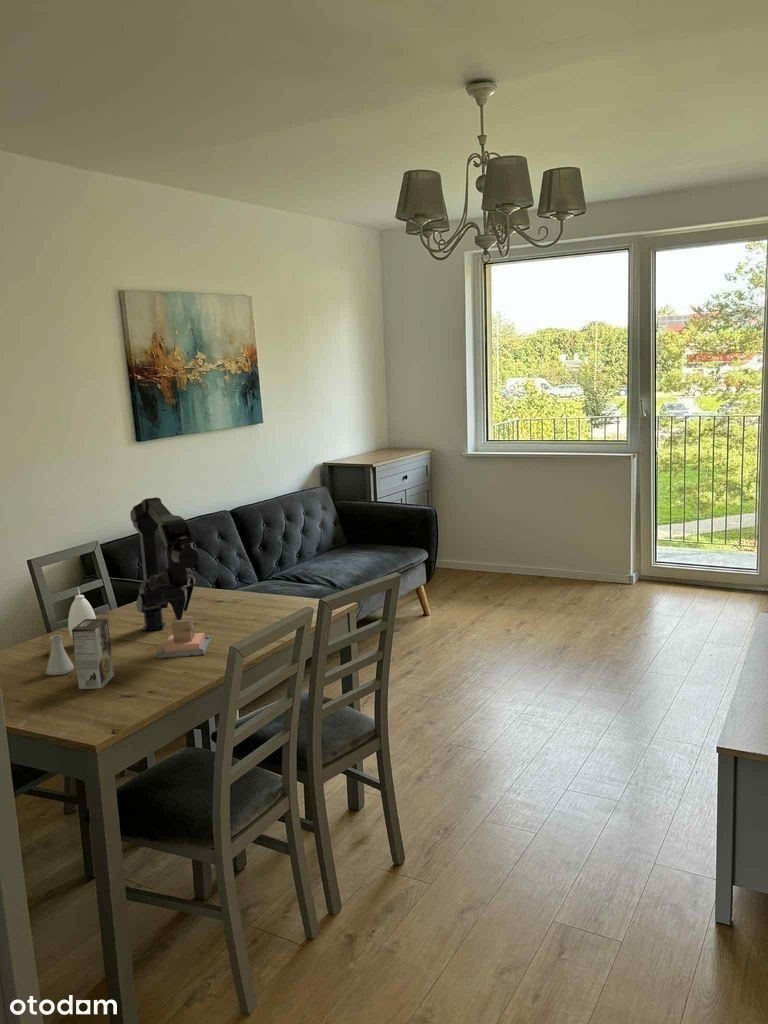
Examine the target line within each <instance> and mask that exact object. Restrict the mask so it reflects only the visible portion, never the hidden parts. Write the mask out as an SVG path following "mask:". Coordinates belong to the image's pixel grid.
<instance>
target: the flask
mask: <svg viewBox="0 0 768 1024" xmlns="http://www.w3.org/2000/svg"><path fill="white" fill-rule="evenodd" d="M62 638H63V634H62V635H61V634H55V635H51V636H50V637H49V638H48V639H49V640H50V646H51V647H50V653H49V658H48V662H47V666H46V670H45V675H47V676H48V675H49V676H60V675H65V674H68V673H70V672H72V671H73V670H74V669H75V665H74V664H73V662H72V661H71V659H70V657H69V655H68V653H67V651H66V650H65V648H64V645H63V639H62Z"/></svg>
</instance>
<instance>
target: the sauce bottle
mask: <svg viewBox="0 0 768 1024" xmlns="http://www.w3.org/2000/svg"><path fill="white" fill-rule="evenodd" d="M85 619H97V617H96V614H95V611H94V609H93V607H92V605H91V604H90V602H89V601H88V600H87V599H86V598H85V595H83V594H81V593H80V588H79V587H77V595H75V596H74V600H73V602H72V603H71V606H70V608H69V613H68V620H67V622H68V623H67V624H68V625H67V627H68V632H69V635H70V637H71V639H72V640H73V635H72V629H73V628H75V627H76V626H77V625H78V624H80V623H81V622H82V621H83V620H85Z"/></svg>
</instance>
